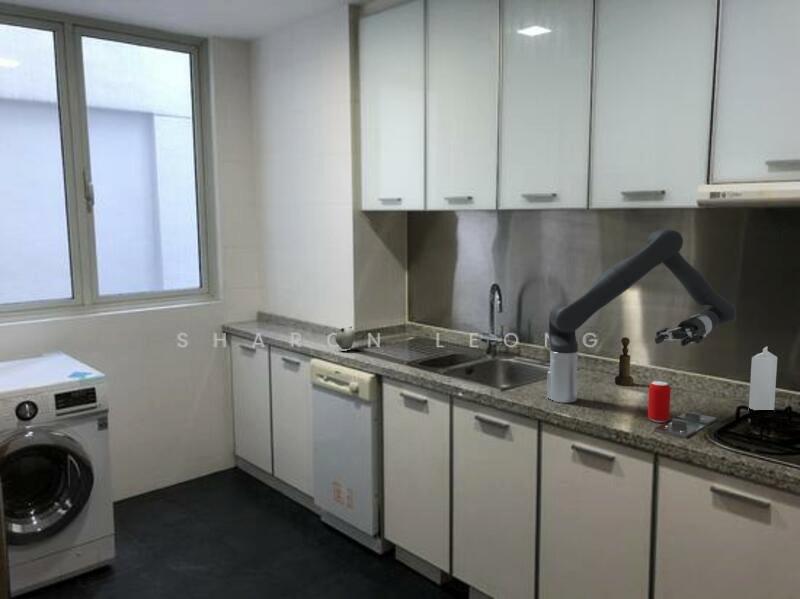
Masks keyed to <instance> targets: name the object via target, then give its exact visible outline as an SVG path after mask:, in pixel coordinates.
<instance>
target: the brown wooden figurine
mask: <svg viewBox="0 0 800 599" xmlns="http://www.w3.org/2000/svg"><path fill="white" fill-rule="evenodd" d="M620 342H621V345H622V346H623V348H621V350H622V354H619V362H618V363H619V366H618V367H619V368H618V375H616V376H615V377H614V384H615V383H616V384H615V385H618V386H626V387H628V386H634V377H632V376H631V355H629V354H628V353H629V349H628V346H629V344H630V338H629V337H625V336H624V337H622V338H621V340H620Z"/></svg>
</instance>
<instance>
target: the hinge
mask: <svg viewBox="0 0 800 599" xmlns="http://www.w3.org/2000/svg"><path fill="white" fill-rule="evenodd" d="M716 420H717V417H715V416H714V417H713V416H710V415H705V414H701V413H698V412H691V411H689V410H687V411H685V412H683V413H681V414H680V415H678V416H677V417H676V418H672V419H671V421H670V422H669V423H666V422H664V423H662V424H661V425H658V426H657V427H655V428H654V429H653V431H654V432H656V433H661V434H665V435H670V436H674V437H678V438H682V439H687V438H689V437H690V436H692V435H694V434H695V433H696V432H697V431H699V430H701V429H702V428H705V427H706V426H708V425H710V424H713V422H715V421H716Z"/></svg>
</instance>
